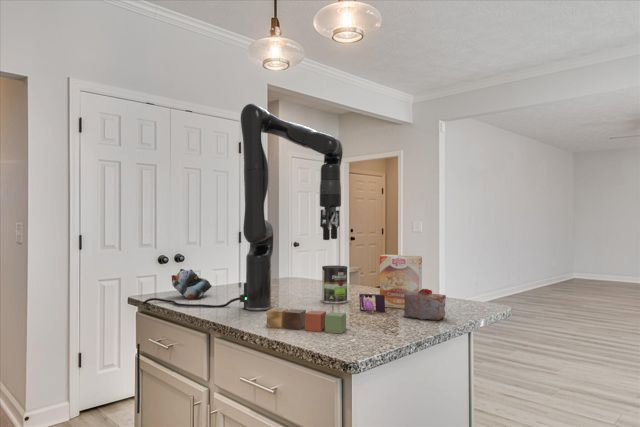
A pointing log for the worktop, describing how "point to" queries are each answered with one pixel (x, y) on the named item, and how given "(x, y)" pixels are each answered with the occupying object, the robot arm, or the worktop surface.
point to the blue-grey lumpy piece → (190, 284)
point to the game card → (368, 304)
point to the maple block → (276, 317)
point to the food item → (424, 305)
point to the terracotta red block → (315, 320)
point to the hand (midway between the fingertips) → (330, 239)
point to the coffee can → (334, 284)
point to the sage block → (335, 322)
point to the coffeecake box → (399, 278)
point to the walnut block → (295, 319)
